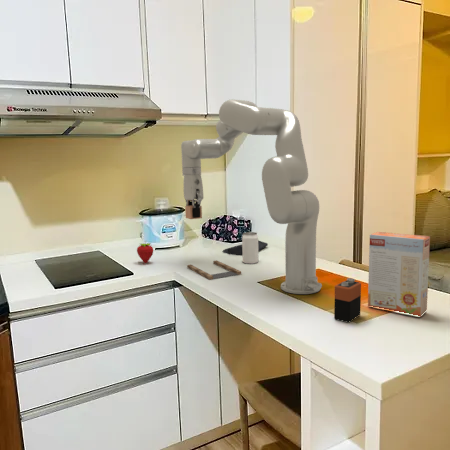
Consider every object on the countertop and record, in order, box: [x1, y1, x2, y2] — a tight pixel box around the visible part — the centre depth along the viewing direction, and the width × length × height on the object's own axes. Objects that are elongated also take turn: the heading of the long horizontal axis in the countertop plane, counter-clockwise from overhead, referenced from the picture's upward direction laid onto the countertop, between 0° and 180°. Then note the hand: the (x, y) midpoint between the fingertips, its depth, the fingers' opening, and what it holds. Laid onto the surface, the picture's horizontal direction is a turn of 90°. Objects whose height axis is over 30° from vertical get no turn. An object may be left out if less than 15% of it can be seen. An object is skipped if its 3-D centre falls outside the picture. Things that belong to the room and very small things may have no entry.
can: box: [241, 231, 259, 265], centre depth 170 cm, size 6×6×12 cm
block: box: [184, 205, 203, 220], centre depth 170 cm, size 5×5×5 cm
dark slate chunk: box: [221, 239, 269, 257], centre depth 193 cm, size 15×22×5 cm
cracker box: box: [367, 231, 431, 316], centre depth 112 cm, size 14×6×21 cm, turn 48°
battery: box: [333, 277, 362, 323], centre depth 109 cm, size 4×7×10 cm, turn 137°
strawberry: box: [136, 241, 154, 264], centre depth 173 cm, size 6×8×10 cm
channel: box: [186, 260, 242, 281], centre depth 159 cm, size 20×13×1 cm, turn 28°
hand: (193, 216), depth 171 cm, fingers closed on block, 5 cm apart
